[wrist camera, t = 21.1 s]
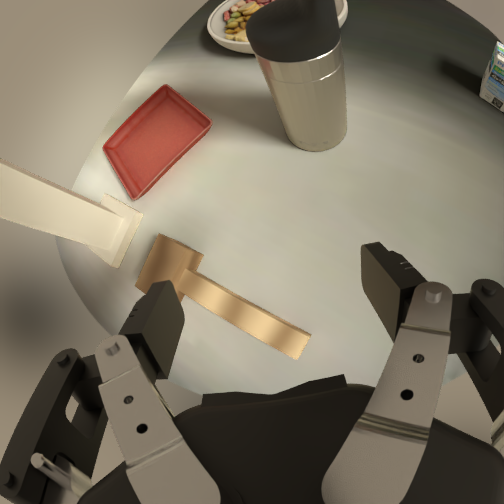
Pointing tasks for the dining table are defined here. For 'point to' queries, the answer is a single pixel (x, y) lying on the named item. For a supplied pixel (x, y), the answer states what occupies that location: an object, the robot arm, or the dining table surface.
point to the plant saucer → (154, 139)
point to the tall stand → (67, 213)
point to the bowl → (235, 18)
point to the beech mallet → (216, 296)
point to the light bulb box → (494, 79)
